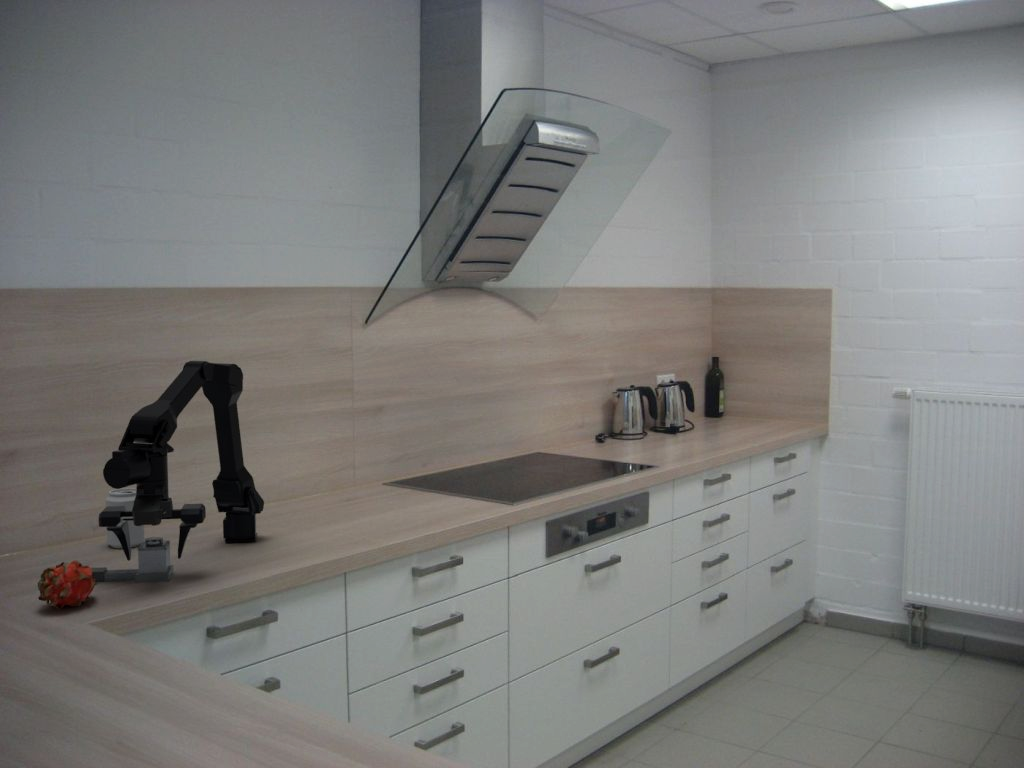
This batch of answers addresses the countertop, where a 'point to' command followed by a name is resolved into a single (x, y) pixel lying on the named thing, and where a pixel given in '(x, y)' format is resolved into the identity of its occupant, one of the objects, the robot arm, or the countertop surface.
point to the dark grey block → (154, 556)
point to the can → (135, 532)
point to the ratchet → (130, 575)
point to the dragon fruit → (66, 584)
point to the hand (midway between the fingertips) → (154, 559)
